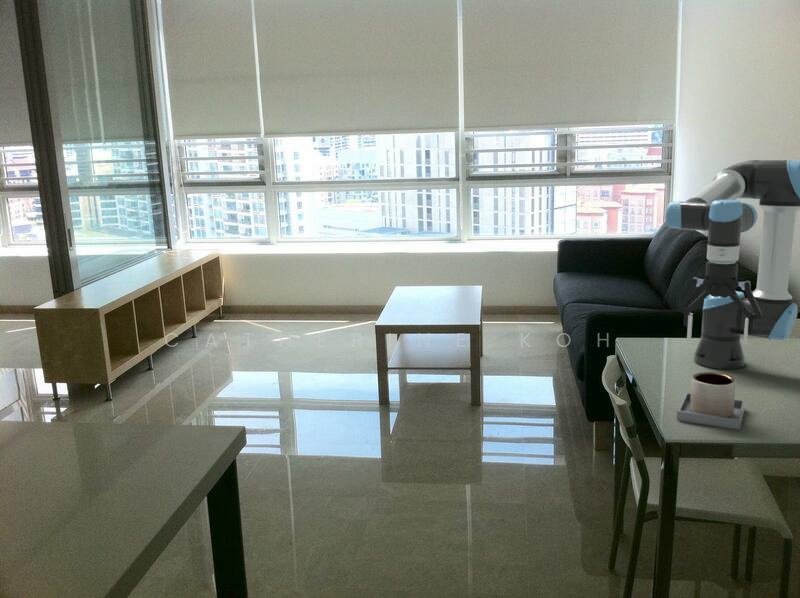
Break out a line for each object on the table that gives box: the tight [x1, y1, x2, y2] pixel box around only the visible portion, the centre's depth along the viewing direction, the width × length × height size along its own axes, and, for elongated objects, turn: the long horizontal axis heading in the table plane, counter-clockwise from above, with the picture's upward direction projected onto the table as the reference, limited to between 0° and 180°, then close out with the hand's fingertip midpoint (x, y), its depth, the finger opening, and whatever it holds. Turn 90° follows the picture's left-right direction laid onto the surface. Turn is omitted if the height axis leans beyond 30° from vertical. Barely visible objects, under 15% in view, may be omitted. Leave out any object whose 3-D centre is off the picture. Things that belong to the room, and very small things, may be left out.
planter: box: [690, 371, 737, 418], centre depth 197 cm, size 11×11×10 cm
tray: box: [676, 392, 746, 431], centre depth 198 cm, size 15×15×2 cm
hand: (716, 340), depth 194 cm, fingers open, 13 cm apart
